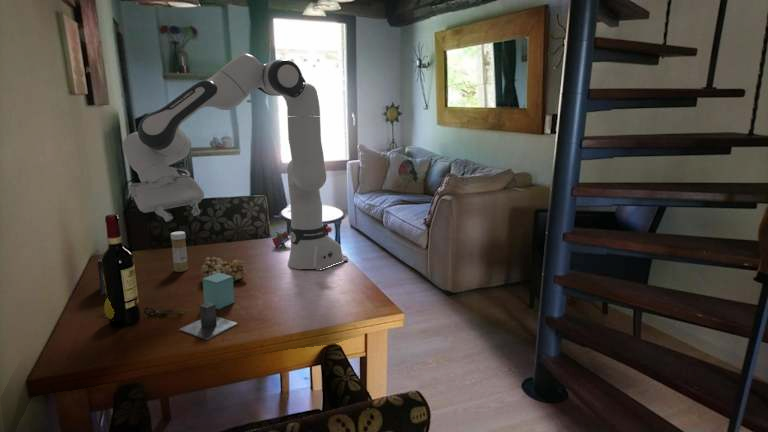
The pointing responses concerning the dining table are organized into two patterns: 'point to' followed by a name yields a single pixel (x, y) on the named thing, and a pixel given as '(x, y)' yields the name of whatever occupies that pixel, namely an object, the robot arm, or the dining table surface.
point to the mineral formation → (223, 268)
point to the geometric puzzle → (280, 239)
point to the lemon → (108, 309)
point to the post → (208, 323)
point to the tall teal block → (218, 290)
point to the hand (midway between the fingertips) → (184, 216)
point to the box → (101, 274)
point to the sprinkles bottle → (179, 251)
